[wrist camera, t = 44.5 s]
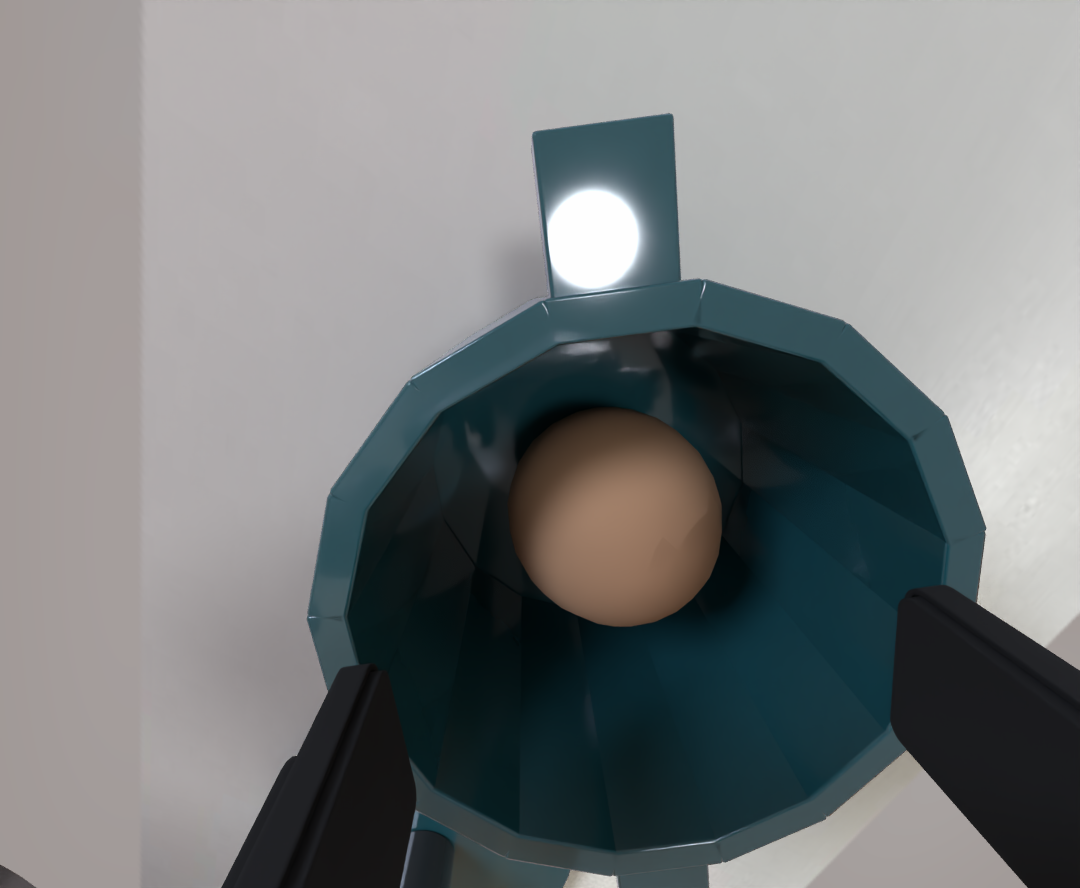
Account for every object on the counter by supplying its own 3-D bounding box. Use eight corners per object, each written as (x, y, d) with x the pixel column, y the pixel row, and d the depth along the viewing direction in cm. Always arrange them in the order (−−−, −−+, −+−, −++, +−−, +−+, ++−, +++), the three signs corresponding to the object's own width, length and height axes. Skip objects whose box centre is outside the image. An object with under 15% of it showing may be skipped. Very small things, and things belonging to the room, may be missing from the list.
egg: (486, 421, 19) (474, 479, 11) (651, 375, 19) (757, 400, 11) (531, 573, 21) (549, 724, 12) (685, 530, 21) (801, 651, 13)
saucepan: (460, 683, 23) (411, 979, 13) (369, 238, 18) (171, 164, 8) (757, 645, 23) (938, 914, 13) (754, 188, 18) (1052, 46, 8)
